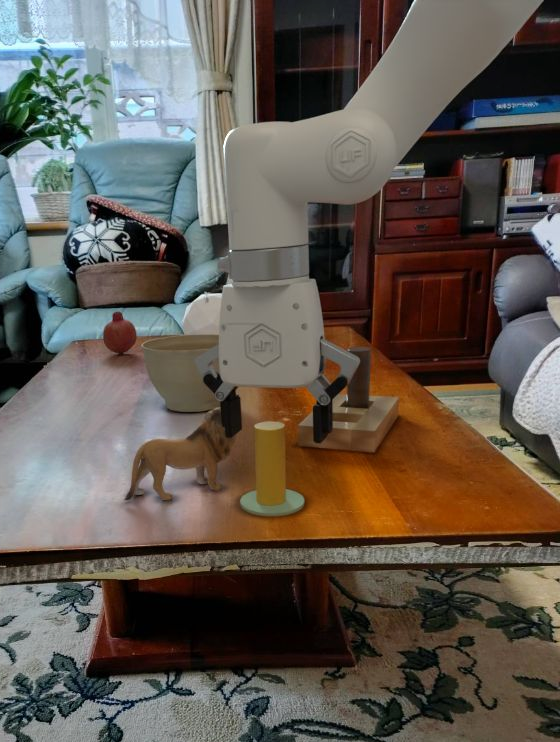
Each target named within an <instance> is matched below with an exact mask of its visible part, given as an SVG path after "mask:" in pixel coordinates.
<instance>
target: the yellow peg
mask: <svg viewBox="0 0 560 742" xmlns="http://www.w3.org/2000/svg"><path fill="white" fill-rule="evenodd" d="M253 426H254V457H255V458H254V460H255V461H254V463H255V490H256V500H257V502H258V503H260V504H262V505H268V506H273V505H279V504H282V503H284V502H285V501H286V489H287V487H286V486H287V483H286V482H287V479H286V476H287V473H286V424H285V423H284V422H281V421H275V420H274V421H273V420H272V421H271V420H269V421H261V422H257V423H256V424H254V425H253Z"/></svg>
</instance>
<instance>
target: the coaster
mask: <svg viewBox="0 0 560 742" xmlns="http://www.w3.org/2000/svg"><path fill="white" fill-rule="evenodd" d="M239 505H240V507H241V509H242V510H244V511H245V512H247V513H249V514H252V515H255V516H261V517H281V516H282V517H283V516H289V515H292V514H295V513H297V512H299V511H300V510H302V509H303V508H304V506H305V497H304V496H303V495H302V494H301V493H299V492H298V491H294V490H292V489H287V488H286V501H285V502H284V503H282V504H279V505H273V506H268V505H262V504H260V503H258V502H257V500H256V489H255V490H252V491H248V492H247V493H245V494H244V495H242V496H241V498H240V500H239Z"/></svg>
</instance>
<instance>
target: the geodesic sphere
mask: <svg viewBox="0 0 560 742" xmlns="http://www.w3.org/2000/svg"><path fill="white" fill-rule="evenodd" d="M221 299H222V292H221V293H220V292H219V293H212V292H209V291H208V292H207V291H204V293H202V294H200V295H199V296H198V297H197V298H195V299H194V300H193V301H191V303H189V304H188V305H187V306H186V307H185V311H184V315H183V319H182V323H181V329H182V332H183V335H191V334H219V322H220V308H221Z"/></svg>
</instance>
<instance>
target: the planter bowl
mask: <svg viewBox="0 0 560 742" xmlns="http://www.w3.org/2000/svg"><path fill="white" fill-rule="evenodd" d="M218 344H219V334H191V335H184V334H179V335H171V336H165V337H158V338H153V339H149V340H147V341H145V342H142V343H141V345H140V346H141V351H142V354H143V359H144V364H145V369H146V372H147V375H148V378H149V380H150V382H151V384H152V386H153V388H154V389H155V390H156V392H157V393H158V394H159V395H160V397H161V398H162V399H163V400H164V404H165V407H166V408H167V409H168V410H170V411H174V412H181V413H197V412H198V413H199V412H205V411H206V412H207V411H212V410H213V409H214V408H218V407H220V401H218V400H217V399H216V398H215V394H214V393H213V392H212V391H211V390H210V389H209V388H208V387H207V386H206V385H205V383H204V382H203V377H202V376H201V375H200V373H199V371H198V369H197V367H196V365H195V364H194V359H195V358H196V357H197V356H199V355H201V354H203V353H204V352H206V351H208V350H209V349H211V348H213V347H214V346H216V345H218ZM213 367H214V370H215V372H217V373H218V374H219V375H220V370H219V358H217V359H216V360H214V361H213Z"/></svg>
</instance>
